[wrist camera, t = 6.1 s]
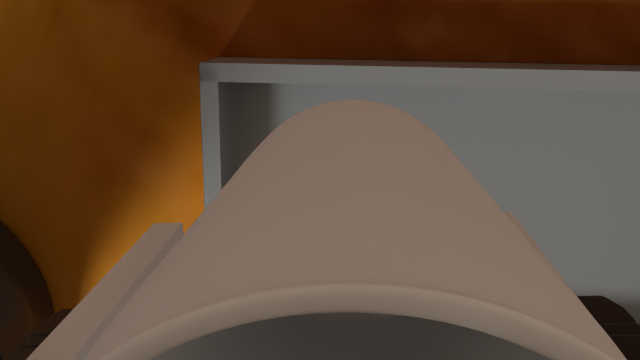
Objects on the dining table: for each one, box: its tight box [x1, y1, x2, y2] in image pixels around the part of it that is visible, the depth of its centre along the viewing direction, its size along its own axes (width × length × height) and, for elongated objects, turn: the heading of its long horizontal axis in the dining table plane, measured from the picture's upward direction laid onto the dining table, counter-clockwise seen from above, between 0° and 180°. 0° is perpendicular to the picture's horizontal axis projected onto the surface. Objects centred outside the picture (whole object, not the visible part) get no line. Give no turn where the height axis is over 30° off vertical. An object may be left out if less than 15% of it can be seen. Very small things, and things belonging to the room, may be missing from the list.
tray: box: [199, 57, 640, 325], centre depth 29 cm, size 24×15×4 cm, turn 89°
